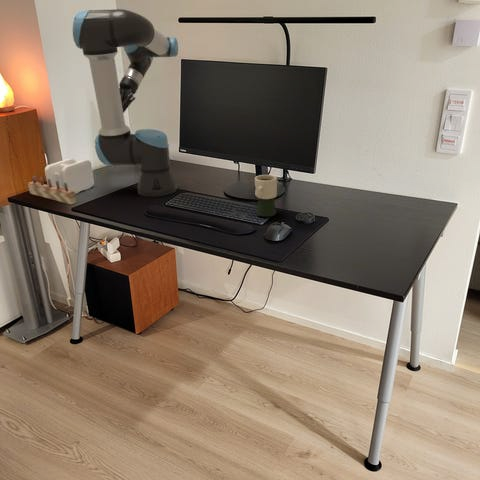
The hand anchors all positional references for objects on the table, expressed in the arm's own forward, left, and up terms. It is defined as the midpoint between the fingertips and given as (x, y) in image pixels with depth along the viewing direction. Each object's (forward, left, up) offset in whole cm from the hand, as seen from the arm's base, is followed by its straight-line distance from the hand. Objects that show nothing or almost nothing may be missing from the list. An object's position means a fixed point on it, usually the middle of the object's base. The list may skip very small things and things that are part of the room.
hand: (106, 127), depth 204 cm
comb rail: (-2, +32, -21) cm, 38 cm away
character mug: (-83, +6, -21) cm, 86 cm away
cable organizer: (-1, +22, -21) cm, 31 cm away
